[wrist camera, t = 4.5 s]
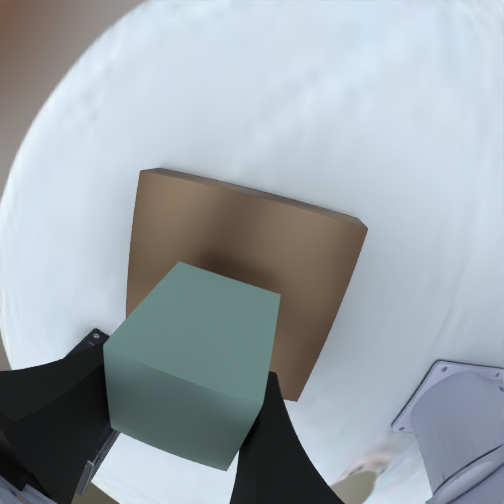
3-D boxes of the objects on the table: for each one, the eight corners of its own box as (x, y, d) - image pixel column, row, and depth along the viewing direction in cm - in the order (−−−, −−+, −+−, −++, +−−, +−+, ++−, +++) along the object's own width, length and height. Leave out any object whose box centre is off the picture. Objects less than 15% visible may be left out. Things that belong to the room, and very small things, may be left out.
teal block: (280, 294, 13) (262, 404, 7) (252, 368, 14) (226, 471, 9) (178, 261, 13) (103, 345, 7) (166, 339, 14) (111, 427, 9)
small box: (91, 322, 22) (10, 401, 12) (158, 366, 22) (98, 467, 12) (75, 389, 25) (22, 455, 15) (127, 423, 26) (84, 499, 16)
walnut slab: (357, 218, 17) (368, 228, 14) (297, 378, 21) (296, 401, 18) (159, 167, 17) (140, 170, 15) (140, 332, 21) (125, 350, 19)
